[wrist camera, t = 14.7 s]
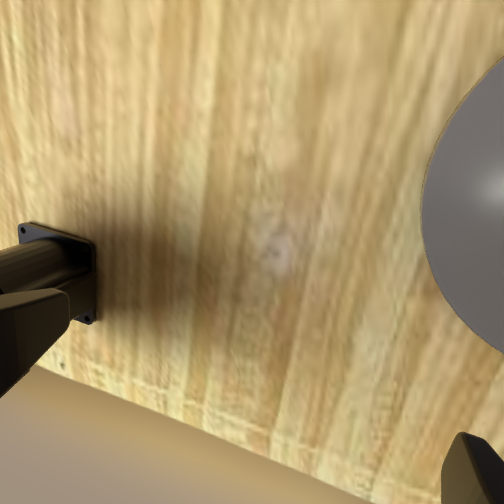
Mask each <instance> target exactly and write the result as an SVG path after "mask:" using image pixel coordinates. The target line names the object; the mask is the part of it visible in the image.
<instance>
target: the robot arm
mask: <svg viewBox="0 0 504 504" xmlns="http://www.w3.org/2000/svg"><path fill="white" fill-rule="evenodd" d="M18 237H19V245H16V246H13V247H10V248H6V249H3V250H0V398H1V397H2V396H3V395H4V394H5V393H6V392H7V391H9V390H10V389H11V388H12V387H13V386H14V385H15V384H16V383H17V382H18V381H19V380H20V379H21V378H22V377H23V376H25V374H27V373H28V372H29V370H30V368H31V367H32V366H33V365H34V364H35V363H36V362H37V361H38V360H39V359H40V357H41V356H42V355H43V354H44V353H45V352H46V351H47V350H48V349H49V348H50V347H51V346H52V345H53V344H54V343H55V342H56V341H57V340H58V339H59V338H60V337H61V336H62V335H63V334H64V333H65V331H66V330H67V329H68V327H69V324H70V321H71V320H73V319H74V320H76V321H79V322H82V323H85V324H87V325H90V324H92V323H94V322H95V321H96V248H95V245H94V244H93V243H92V242H91V241H88V240H85V239H81V238H78V237H75V236H71V235H68V234H64V233H61V232H58V231H54V230H51V229H47V228H44V227H41V226H37V225H34V224H31V223H26V222H25V223H22V224H19V225H18ZM87 248H88V249H87ZM441 504H504V461H503V460H502V459H501V458H500V456H499V455H498V454H497V453H496V452H495V451H494V449H493V448H492V447H491V446H490V445H489V444H488V443H487V442H486V441H485V440H484V439H482V438H480V437H477V436H474V435H471V434H468V433H466V432H459V433H458V434H457V435H456V437H455V438H454V441H453V443H452V445H451V447H450V449H449V451H448V453H447V456H446V458H445V460H444V462H443V465H442V471H441Z"/></svg>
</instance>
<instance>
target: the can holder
mask: <svg viewBox="0 0 504 504" xmlns="http://www.w3.org/2000/svg"><path fill="white" fill-rule="evenodd" d="M420 222H421V233H422V238H423V243H424V248H425V252H426V255H427V259H428V262H429V264H430V267H431V270H432V273H433V276H434V278H435V281H436V282H437V284H438V286H439V288H440V290H441V292H442V294H443V295H444V297H445V299H446V300H447V302H448V303H449V304H450V306H451V307H452V308H453V310H454V311H455V312H456V314H457V315H458V316H459V317H460V318H461V319H462V321H463V322H464V323H465V324H466V325H467V326H468V327H469V328H470V329H471V330H472V331H473V332H474V333H476V334H477V335H478V336H479V337H481V338H482V339H483V340H484V341H486V342H487V343H488V344H489V345H491V346H492V347H494V348H495V349H497V350H499V351H500V352H502V353H503V354H504V56H503V57H502V58H501V59H500V60H499V61H498V62H497V63H496V64H495V65H493V66H492V67H491V68H490V69H489V70H488V71H487V72H486V73H485V74H484V75H483V76H482V77H481V78H480V79H479V81H478V82H477V83H476V84H475V85H474V86H473V87H472V88H471V90H470V91H469V92H468V93H467V94H466V95H465V97H464V98H463V99H462V101H461V102H460V104H459V105H458V107H457V108H456V109H455V111H454V112H453V114H452V115H451V116H450V118H449V119H448V121H447V123H446V125H445V127H444V129H443V131H442V132H441V134H440V136H439V138H438V140H437V142H436V144H435V147H434V149H433V152H432V154H431V157H430V160H429V162H428V165H427V169H426V173H425V177H424V181H423V185H422V193H421V203H420Z"/></svg>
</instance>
